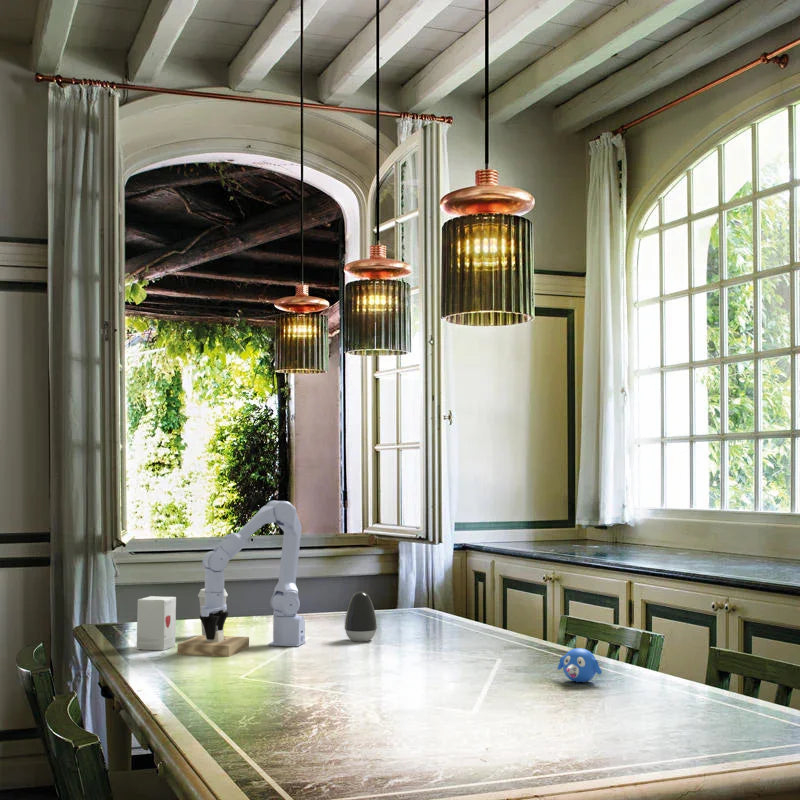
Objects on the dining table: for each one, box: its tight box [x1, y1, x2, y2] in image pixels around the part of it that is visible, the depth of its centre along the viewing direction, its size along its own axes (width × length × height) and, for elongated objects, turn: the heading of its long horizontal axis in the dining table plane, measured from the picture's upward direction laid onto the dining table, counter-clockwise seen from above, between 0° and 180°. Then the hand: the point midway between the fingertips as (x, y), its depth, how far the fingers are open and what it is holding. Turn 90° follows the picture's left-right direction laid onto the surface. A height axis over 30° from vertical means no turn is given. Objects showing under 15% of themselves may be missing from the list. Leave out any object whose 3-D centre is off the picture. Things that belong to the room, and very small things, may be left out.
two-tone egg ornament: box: [344, 591, 378, 642], centre depth 327 cm, size 10×10×15 cm
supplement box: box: [136, 595, 177, 651], centre depth 314 cm, size 9×9×15 cm
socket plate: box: [176, 634, 250, 657], centre depth 308 cm, size 16×16×3 cm
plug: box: [206, 626, 225, 642], centre depth 308 cm, size 4×4×8 cm
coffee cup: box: [197, 588, 229, 636], centre depth 335 cm, size 10×10×15 cm
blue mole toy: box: [557, 647, 603, 683], centre depth 260 cm, size 12×12×8 cm
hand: (214, 638), depth 308 cm, fingers open, 5 cm apart
